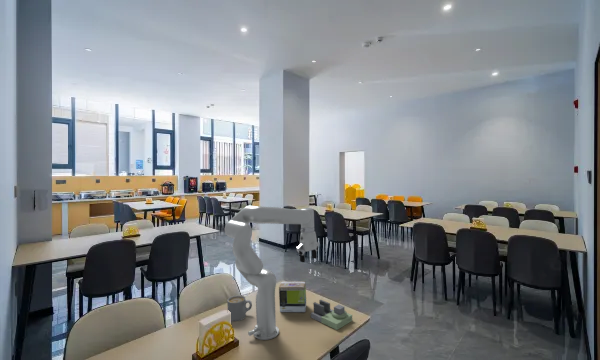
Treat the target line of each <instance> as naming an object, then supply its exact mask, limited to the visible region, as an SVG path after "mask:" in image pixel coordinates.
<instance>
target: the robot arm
mask: <svg viewBox="0 0 600 360" xmlns="http://www.w3.org/2000/svg"><path fill="white" fill-rule="evenodd" d="M250 223H252V224H257V225H258V224H261V225H264V224H270V225H272V224H273V225H275V224H277V225H300V229H299V230H300V234H299V235H300V236H299V245H298V246H296V252H297V254H298V255H299V261H300V262H301V263H305V262H306V259H305V258H306V257H305V253H306V252H311V258H312V259H315V260H316V259H317V258H318V257H317V256H318V255H317V253H318V249H319V246H320V242H318V239H317V234H316V233H317V232H316V231H315V212H314V208H313V207H306V208H305V207H304V208H299V209H298V208H297V209H296V208H291V209H290V208H284V207H278V206H277V207H276V206H263V205H262V206H261V205H260V206H259V205H258V206H257V205H246V206H245V207H244V208H242V209H241V210H240V211H239V212H237V213H236V214H235V215H233V217H232V218H230V219H229V220H228V221H227V222H226V224H225V226H224V233H225V235H226V236H227V237H228V238H231V239H233V240H232V241H233V242H232V248H231V249H232V254H233V256H234V257H235V268H236V270H238V272H239V273H240V274H241V275H242V277H243V278H244V279H245V280H246V281H247V282H248V283H249V284H250V285H252V286H253V287H256V288H257V293H256V294H255V311H256V312H255V313H256V315H255V316H256V325H254V328H253V329H252V330H250V331H248V332H247V334H248V336H249V337H250V336H253V337H255V338H256V339H257V340H261V341H268V340H272V339H274V338H276V337H277V336H278V335H279V334H280V328H279V326H277V323H276V322H277V321H276V319H277V318H276V287H277V276H276V275H275V272H272V271H271V269H267V268H264V263H263V261H262V259H261V258H260V256H259V255H258V254H257V253H256V252H255V251H254V248H252V246H251V238H252V235H253V229H252V226H251V225H250Z"/></svg>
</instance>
